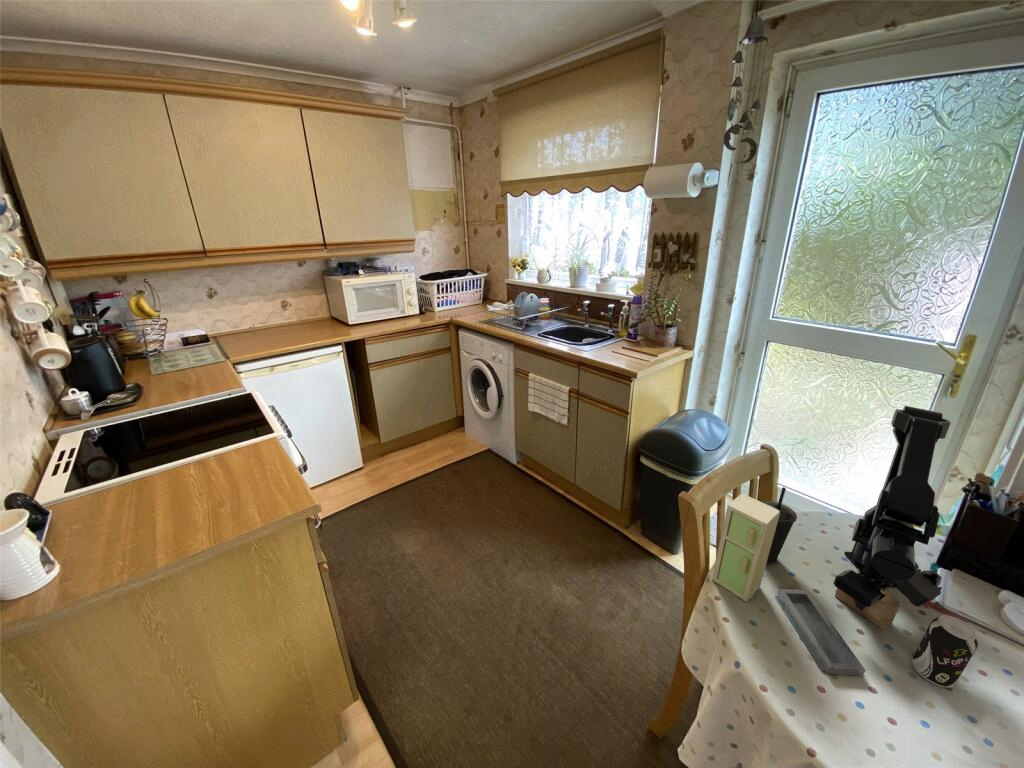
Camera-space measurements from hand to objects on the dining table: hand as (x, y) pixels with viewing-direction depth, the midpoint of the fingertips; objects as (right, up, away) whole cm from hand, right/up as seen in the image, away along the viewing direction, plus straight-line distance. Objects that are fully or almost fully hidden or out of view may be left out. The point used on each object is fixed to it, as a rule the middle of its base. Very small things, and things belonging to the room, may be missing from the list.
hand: (863, 605), depth 86 cm
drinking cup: (-12, +4, +14) cm, 19 cm away
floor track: (-13, -3, -4) cm, 14 cm away
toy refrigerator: (-24, +1, +7) cm, 25 cm away
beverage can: (+2, -6, -12) cm, 13 cm away
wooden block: (0, -1, 0) cm, 1 cm away
